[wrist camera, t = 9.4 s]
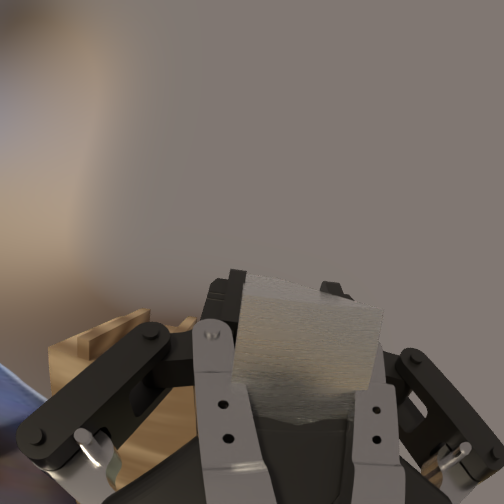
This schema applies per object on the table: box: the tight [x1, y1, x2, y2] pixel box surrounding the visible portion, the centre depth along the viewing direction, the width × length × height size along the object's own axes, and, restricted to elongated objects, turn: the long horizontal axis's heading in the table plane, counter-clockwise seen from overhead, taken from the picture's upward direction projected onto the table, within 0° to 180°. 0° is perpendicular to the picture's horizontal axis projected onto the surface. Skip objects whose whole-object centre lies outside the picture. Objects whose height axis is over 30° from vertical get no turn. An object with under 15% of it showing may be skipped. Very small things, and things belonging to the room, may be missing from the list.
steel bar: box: [231, 274, 384, 425], centre depth 18 cm, size 24×4×4 cm, turn 1°
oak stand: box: [48, 308, 197, 504], centre depth 23 cm, size 15×12×36 cm
